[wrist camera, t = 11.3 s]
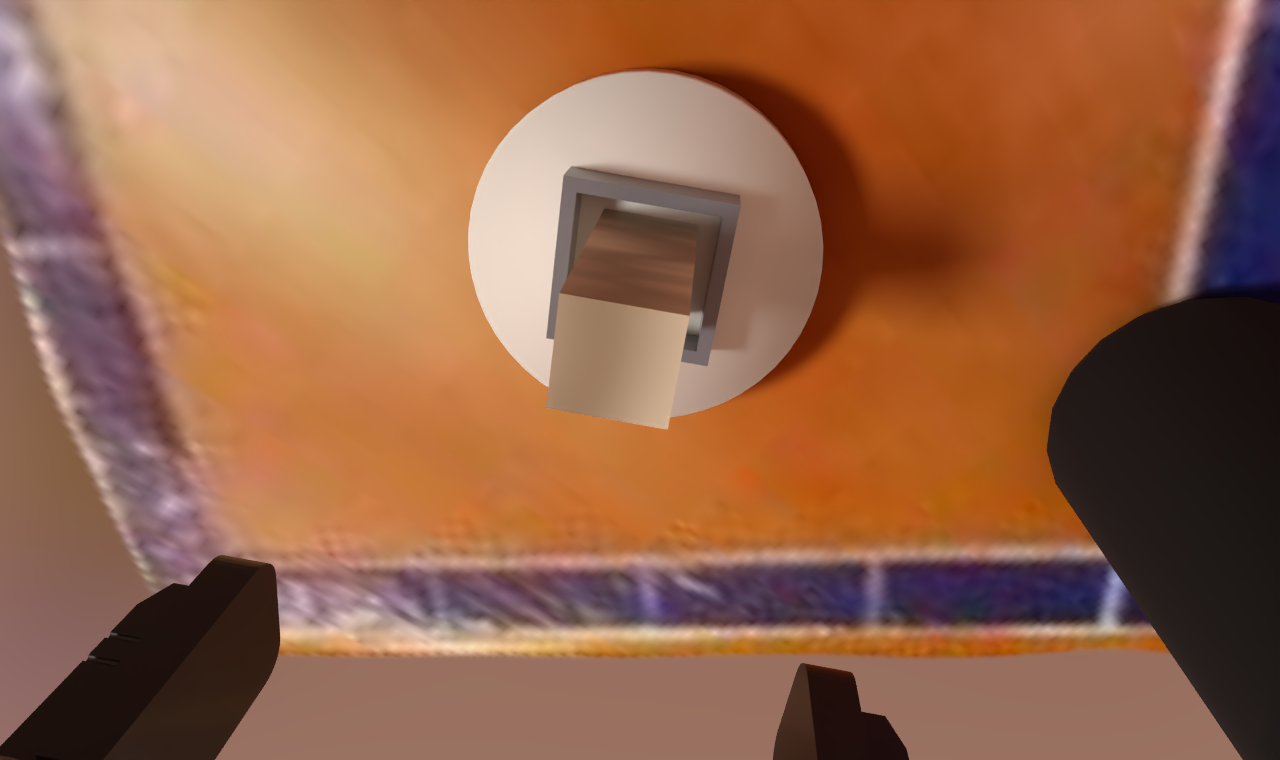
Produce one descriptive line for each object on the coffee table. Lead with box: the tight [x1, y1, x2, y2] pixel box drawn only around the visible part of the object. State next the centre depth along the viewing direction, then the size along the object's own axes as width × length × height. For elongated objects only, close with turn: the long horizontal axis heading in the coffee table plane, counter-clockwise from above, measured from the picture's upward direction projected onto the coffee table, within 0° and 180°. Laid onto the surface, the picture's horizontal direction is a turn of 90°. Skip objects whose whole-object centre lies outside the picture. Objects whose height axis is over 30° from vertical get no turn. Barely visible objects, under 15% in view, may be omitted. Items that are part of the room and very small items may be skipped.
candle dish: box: [468, 68, 823, 417], centre depth 30 cm, size 13×13×4 cm
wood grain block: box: [546, 209, 698, 430], centre depth 26 cm, size 3×3×9 cm
